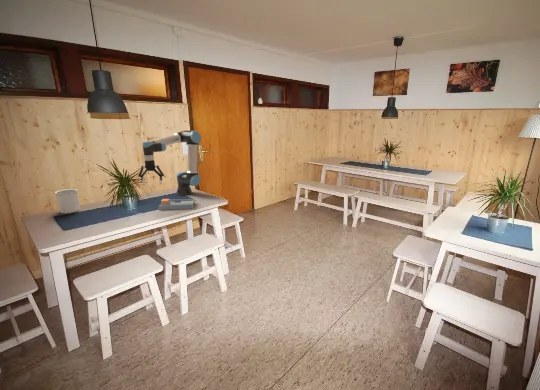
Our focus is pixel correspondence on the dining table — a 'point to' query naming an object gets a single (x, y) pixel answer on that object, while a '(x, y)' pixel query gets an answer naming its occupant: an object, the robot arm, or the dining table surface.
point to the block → (165, 201)
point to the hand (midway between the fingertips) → (152, 184)
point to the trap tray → (178, 204)
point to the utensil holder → (68, 200)
